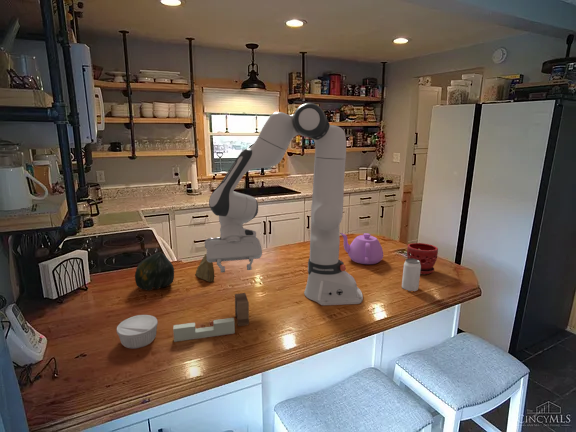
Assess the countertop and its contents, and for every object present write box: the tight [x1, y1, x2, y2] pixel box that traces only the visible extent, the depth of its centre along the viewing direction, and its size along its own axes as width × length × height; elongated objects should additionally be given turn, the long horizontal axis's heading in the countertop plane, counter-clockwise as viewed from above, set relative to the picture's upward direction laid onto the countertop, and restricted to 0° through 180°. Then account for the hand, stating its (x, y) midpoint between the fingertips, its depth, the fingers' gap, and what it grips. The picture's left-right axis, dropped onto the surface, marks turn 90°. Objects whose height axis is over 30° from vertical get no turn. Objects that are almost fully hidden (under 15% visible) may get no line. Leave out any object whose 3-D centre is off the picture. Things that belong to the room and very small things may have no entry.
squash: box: [134, 252, 175, 291], centre depth 137 cm, size 14×15×15 cm
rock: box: [194, 253, 215, 283], centre depth 146 cm, size 11×9×10 cm
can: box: [401, 258, 421, 292], centre depth 140 cm, size 6×6×12 cm
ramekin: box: [116, 314, 159, 349], centre depth 103 cm, size 11×11×5 cm
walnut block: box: [234, 292, 250, 327], centre depth 114 cm, size 7×4×8 cm, turn 16°
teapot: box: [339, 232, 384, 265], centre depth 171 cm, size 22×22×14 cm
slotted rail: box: [172, 317, 236, 343], centre depth 105 cm, size 18×2×4 cm, turn 106°
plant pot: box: [406, 242, 439, 275], centre depth 158 cm, size 13×13×12 cm
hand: (236, 270), depth 123 cm, fingers open, 8 cm apart
